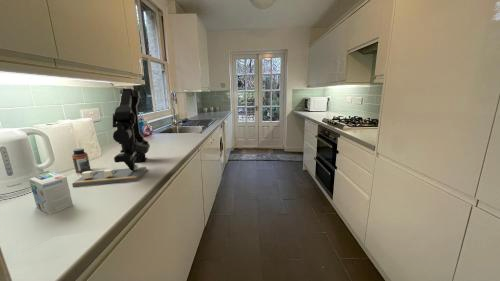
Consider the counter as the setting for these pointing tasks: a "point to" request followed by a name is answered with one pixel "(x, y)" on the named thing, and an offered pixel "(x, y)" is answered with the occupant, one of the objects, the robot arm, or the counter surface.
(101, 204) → the counter surface
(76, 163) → the supplement bottle
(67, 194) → the light bulb box
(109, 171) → the switch middle
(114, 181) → the switch panel
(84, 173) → the switch right
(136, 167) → the switch
